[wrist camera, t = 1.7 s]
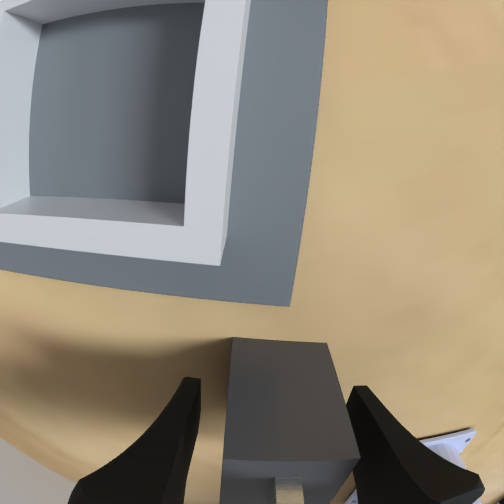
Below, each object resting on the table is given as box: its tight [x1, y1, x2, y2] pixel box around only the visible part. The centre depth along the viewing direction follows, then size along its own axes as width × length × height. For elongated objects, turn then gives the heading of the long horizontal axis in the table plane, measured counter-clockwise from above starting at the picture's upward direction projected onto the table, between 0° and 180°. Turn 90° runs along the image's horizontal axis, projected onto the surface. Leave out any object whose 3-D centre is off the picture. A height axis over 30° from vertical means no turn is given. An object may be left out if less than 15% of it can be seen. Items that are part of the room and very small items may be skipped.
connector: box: [220, 337, 361, 504], centre depth 11 cm, size 4×4×7 cm
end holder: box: [0, 0, 328, 307], centre depth 8 cm, size 14×14×3 cm
